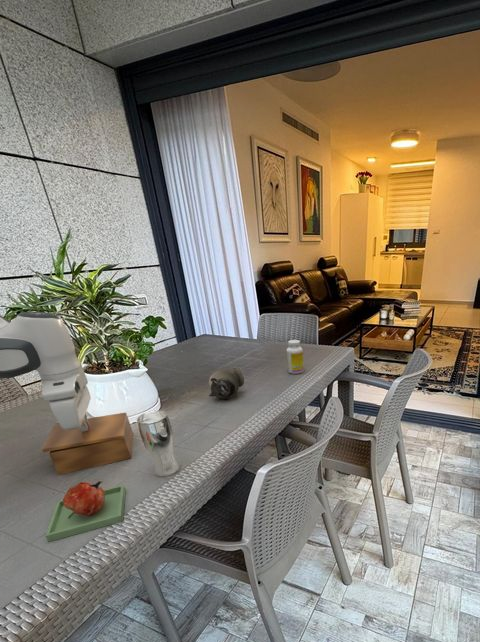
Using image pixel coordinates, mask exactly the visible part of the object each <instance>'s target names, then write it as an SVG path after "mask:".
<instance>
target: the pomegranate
mask: <svg viewBox="0 0 480 642" xmlns="http://www.w3.org/2000/svg"><path fill="white" fill-rule="evenodd" d="M102 483H104V481H103V480H99V481H97V482H96V483H94V484H93V483H92V482H89V481H81V482H78V483H76V484H75V485H73V486H71V487H70V488H69V489H67V491H66V493H65V494H64V496H63V499H62V500H63V505H64V506H65V507H66V508H68V509H70V510H72V511H73V513H72V514H71V515H70V516H69V517H68V518H70V517H71V516H72V515H73V514H74V513H75V514H79V515H86V516H92V515H94V514H95V513H97V512H98V511H99V510H100V509H101V508H102V507H103V505H104V503H105V493H104V488H103V487H101V486H100V485H101V484H102Z"/></svg>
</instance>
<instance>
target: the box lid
mask: <svg viewBox="0 0 480 642" xmlns="http://www.w3.org/2000/svg"><path fill="white" fill-rule="evenodd" d="M127 417H128V414H127V412H120V413H114V414H107V415H106V414H105V415H100V416H94V417H87V418H88V422H89V428H88V431H85V432H81V431H80V429H79V428H77V429H73V430H64V429H62V428H61V426H60V425H59V423H58V422H56V423H54V424H53V427H52V428H51V430H50V433H49V434H48V436H47V438H46V440H45V442H44V445H43V446H42V448H41V451H42V452H43V453H46V452H47V453H48V452H50V451H53V450H59V449H64V448H70V447H76V446H81V445H87V444H93V443H98V442H104V441H110V440H115V439H121V438H124V434H125V426H126V418H127Z"/></svg>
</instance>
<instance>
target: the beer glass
mask: <svg viewBox="0 0 480 642" xmlns="http://www.w3.org/2000/svg"><path fill="white" fill-rule="evenodd" d="M136 422H137V427H138V432H139V435H140V438H141V441H142V443H143V445H144V447H145V449H146V450H147V452H148V454H149V456H150V458H151V459H152V463H153V470H154V475H156V476H158V477H168V476H172V475H174V474H176V473H177V472H179V470H180V469H181V464H180V461H179V460H178V458H177V455H176V451H175V437H174V436H175V435H174V431H173V427H172V424H171V421H170V418H169V416H168V413H167V412H166V411H165V410H158V409H157V410H151V411H147V412H144V413H142V414H140V415H138V417H137V418H136Z"/></svg>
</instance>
